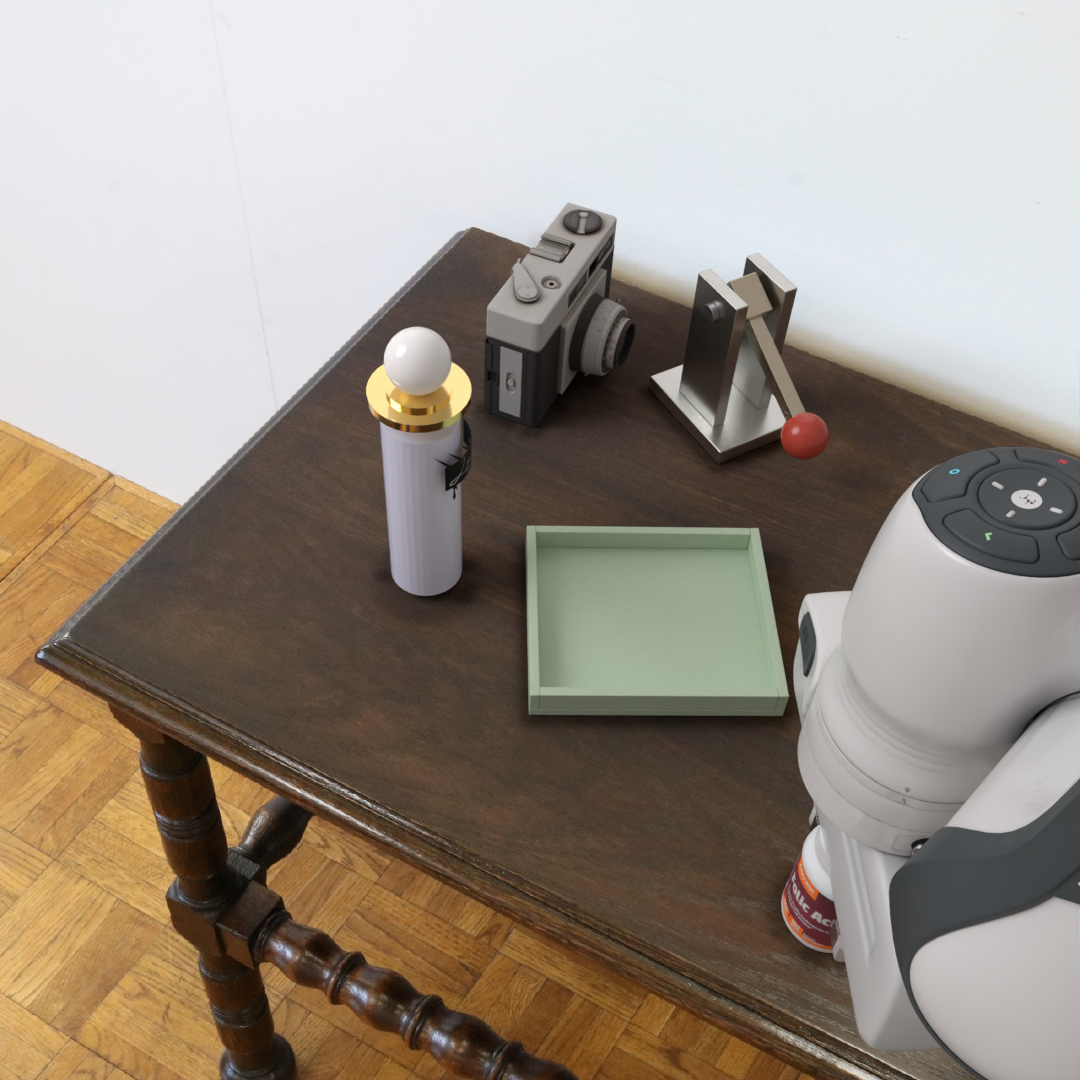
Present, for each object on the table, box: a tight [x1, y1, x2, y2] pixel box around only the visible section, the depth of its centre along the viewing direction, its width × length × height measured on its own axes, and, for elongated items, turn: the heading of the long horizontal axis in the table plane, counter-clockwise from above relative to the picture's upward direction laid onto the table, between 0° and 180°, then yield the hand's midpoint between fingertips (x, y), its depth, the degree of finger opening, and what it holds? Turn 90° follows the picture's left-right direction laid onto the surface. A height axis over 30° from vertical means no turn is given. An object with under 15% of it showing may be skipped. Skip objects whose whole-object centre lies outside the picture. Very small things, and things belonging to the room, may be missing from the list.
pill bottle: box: [780, 825, 837, 954], centre depth 64 cm, size 5×5×8 cm
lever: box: [726, 272, 830, 461], centre depth 85 cm, size 13×3×3 cm
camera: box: [483, 202, 636, 428], centre depth 91 cm, size 14×8×10 cm, turn 155°
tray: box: [525, 525, 790, 717], centre depth 79 cm, size 15×13×2 cm
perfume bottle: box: [365, 326, 473, 597], centre depth 74 cm, size 6×6×20 cm
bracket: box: [648, 252, 798, 464], centre depth 88 cm, size 9×7×12 cm
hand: (836, 889), depth 65 cm, fingers closed on pill bottle, 5 cm apart
